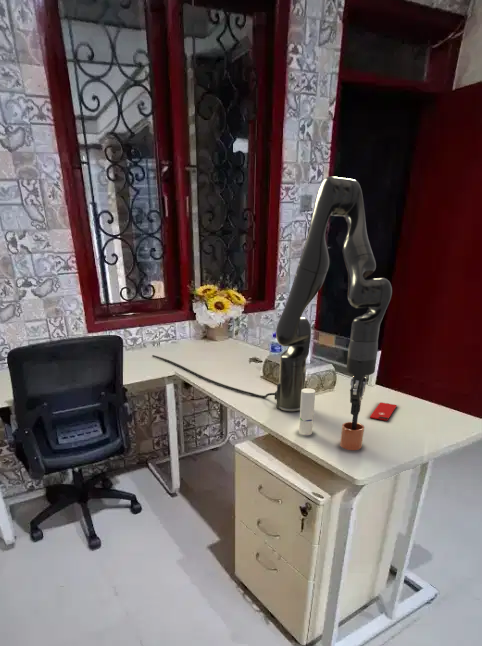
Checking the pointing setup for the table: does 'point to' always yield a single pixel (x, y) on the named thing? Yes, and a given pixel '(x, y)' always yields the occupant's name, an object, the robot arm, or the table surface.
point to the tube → (306, 411)
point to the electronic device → (383, 411)
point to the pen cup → (351, 436)
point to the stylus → (354, 422)
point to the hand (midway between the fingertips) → (355, 413)
